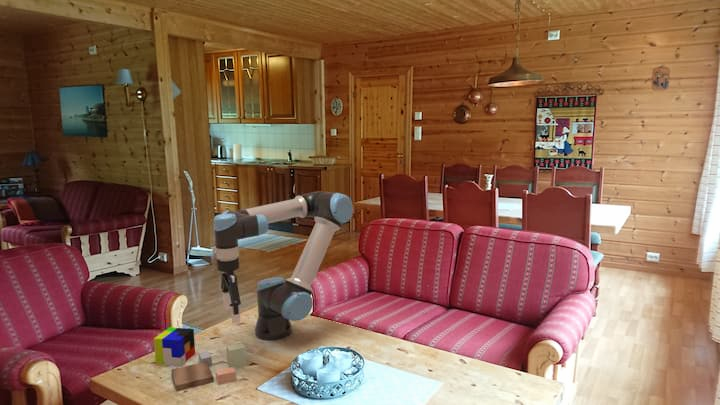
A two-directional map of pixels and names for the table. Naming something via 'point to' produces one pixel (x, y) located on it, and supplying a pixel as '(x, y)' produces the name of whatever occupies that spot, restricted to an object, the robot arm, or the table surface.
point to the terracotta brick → (225, 375)
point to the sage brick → (237, 355)
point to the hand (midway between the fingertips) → (231, 315)
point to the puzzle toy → (174, 346)
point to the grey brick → (205, 357)
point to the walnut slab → (192, 376)
